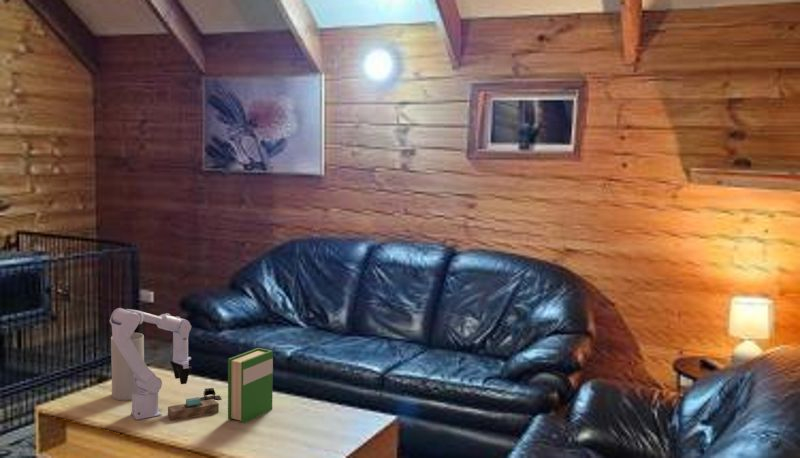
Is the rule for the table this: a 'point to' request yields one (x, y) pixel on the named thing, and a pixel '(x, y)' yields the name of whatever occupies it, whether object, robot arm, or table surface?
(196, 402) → the teal rectangular block
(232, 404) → the hardback book
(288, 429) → the table surface
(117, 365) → the cylinder vase
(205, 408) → the slotted beam
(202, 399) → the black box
